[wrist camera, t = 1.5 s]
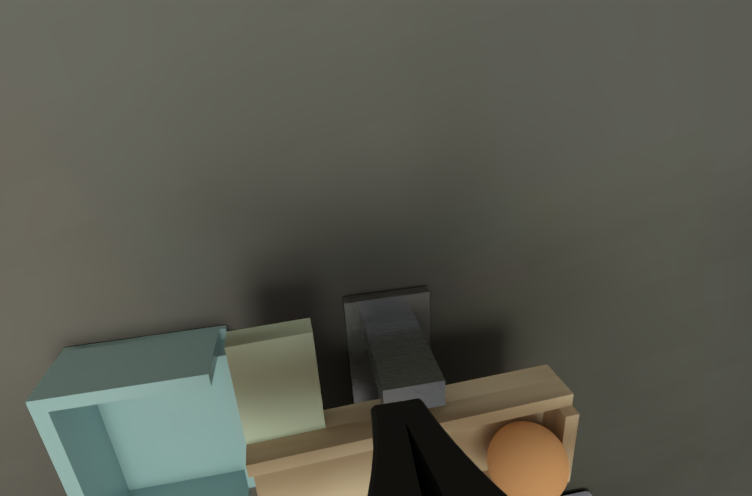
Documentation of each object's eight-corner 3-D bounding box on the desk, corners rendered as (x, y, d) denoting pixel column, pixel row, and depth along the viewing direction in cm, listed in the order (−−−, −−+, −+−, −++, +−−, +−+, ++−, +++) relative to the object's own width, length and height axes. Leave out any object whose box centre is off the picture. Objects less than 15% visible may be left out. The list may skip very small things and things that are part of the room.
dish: (263, 470, 26) (260, 530, 23) (122, 496, 25) (98, 562, 22) (233, 324, 22) (224, 371, 19) (64, 347, 21) (25, 402, 18)
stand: (429, 448, 27) (462, 542, 22) (359, 461, 27) (376, 560, 22) (426, 285, 23) (466, 355, 18) (342, 297, 22) (359, 372, 17)
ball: (529, 450, 22) (583, 505, 19) (470, 476, 21) (519, 539, 18) (534, 395, 21) (592, 446, 18) (472, 420, 20) (524, 479, 17)
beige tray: (537, 451, 23) (567, 494, 21) (267, 516, 21) (268, 572, 19) (556, 275, 20) (594, 306, 17) (226, 331, 17) (221, 375, 15)
